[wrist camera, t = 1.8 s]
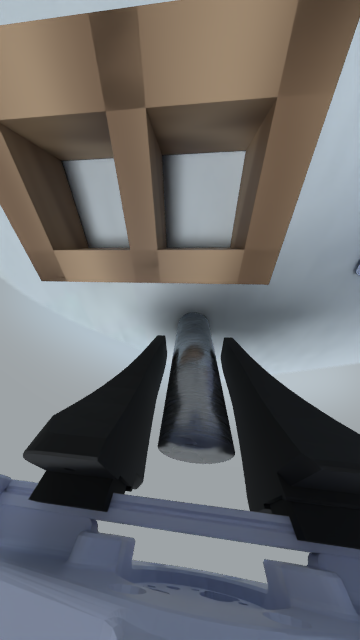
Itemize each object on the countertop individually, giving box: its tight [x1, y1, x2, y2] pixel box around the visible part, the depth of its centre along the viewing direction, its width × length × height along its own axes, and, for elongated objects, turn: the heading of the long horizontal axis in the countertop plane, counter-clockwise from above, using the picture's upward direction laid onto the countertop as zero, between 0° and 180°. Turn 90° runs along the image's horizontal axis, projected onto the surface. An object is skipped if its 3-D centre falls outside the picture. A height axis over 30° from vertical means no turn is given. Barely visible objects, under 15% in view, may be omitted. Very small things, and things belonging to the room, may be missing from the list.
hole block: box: [0, 0, 360, 285], centre depth 7 cm, size 14×8×3 cm, turn 90°
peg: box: [158, 313, 235, 464], centre depth 9 cm, size 3×3×9 cm
